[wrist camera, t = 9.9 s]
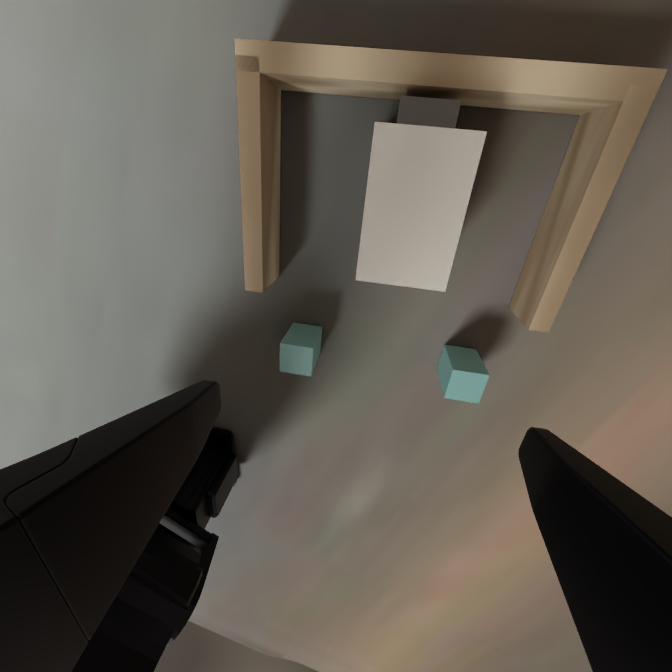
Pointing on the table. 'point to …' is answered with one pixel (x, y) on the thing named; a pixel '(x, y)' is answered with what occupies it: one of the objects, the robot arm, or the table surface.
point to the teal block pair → (453, 370)
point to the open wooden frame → (473, 90)
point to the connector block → (417, 194)
